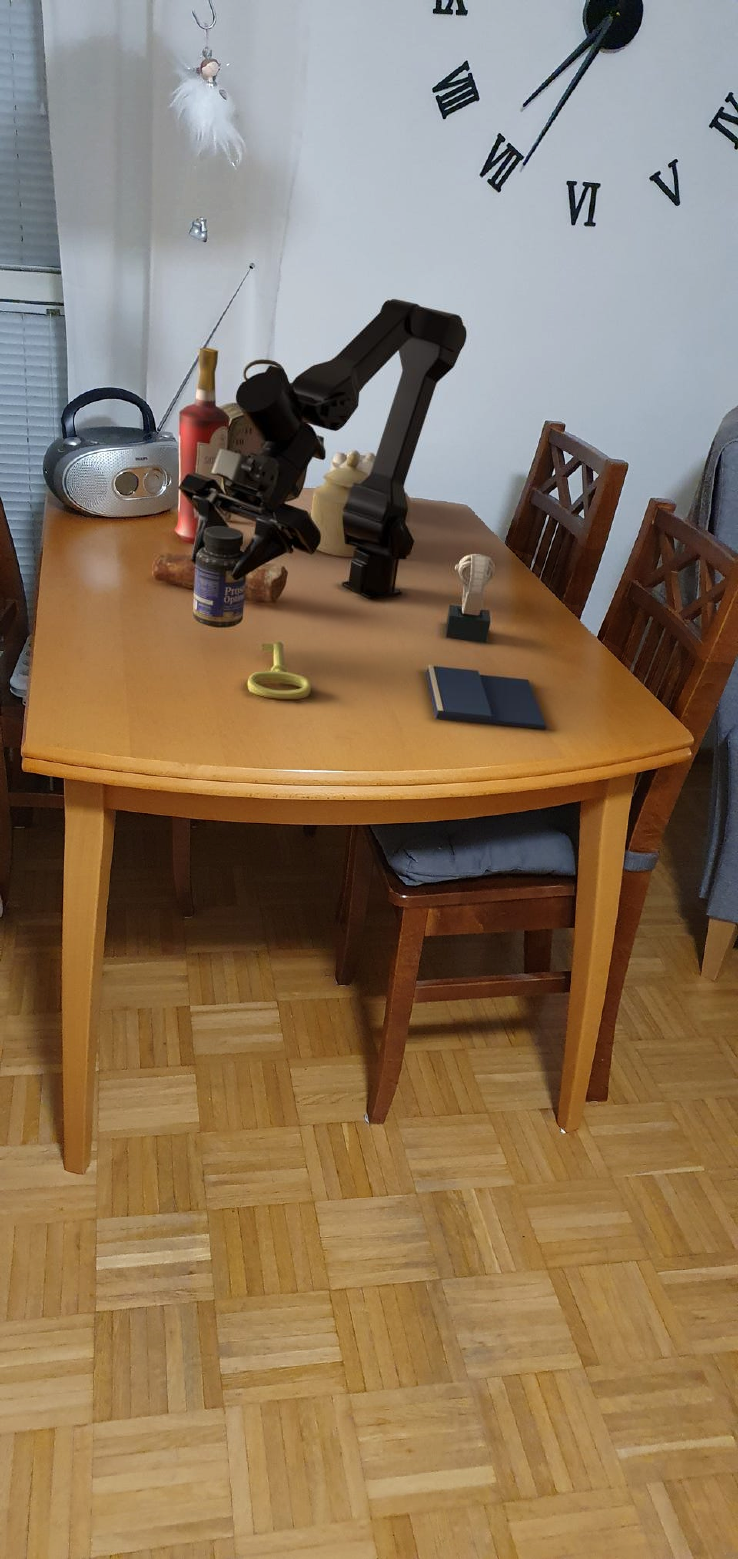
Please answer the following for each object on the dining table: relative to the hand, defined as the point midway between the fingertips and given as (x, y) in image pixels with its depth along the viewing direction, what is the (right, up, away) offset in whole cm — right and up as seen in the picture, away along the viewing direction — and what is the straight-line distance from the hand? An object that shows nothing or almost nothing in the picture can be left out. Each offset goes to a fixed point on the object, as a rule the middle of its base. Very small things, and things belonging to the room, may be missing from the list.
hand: (213, 570), depth 142 cm
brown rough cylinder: (-3, 0, +22) cm, 22 cm away
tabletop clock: (-1, +19, +56) cm, 59 cm away
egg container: (+17, +30, +65) cm, 74 cm away
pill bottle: (0, -5, +4) cm, 7 cm away
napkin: (+32, -15, +2) cm, 36 cm away
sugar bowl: (+16, +12, +48) cm, 52 cm away
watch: (+32, -5, +21) cm, 39 cm away
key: (+8, -13, 0) cm, 15 cm away
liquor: (-8, +12, +41) cm, 44 cm away
